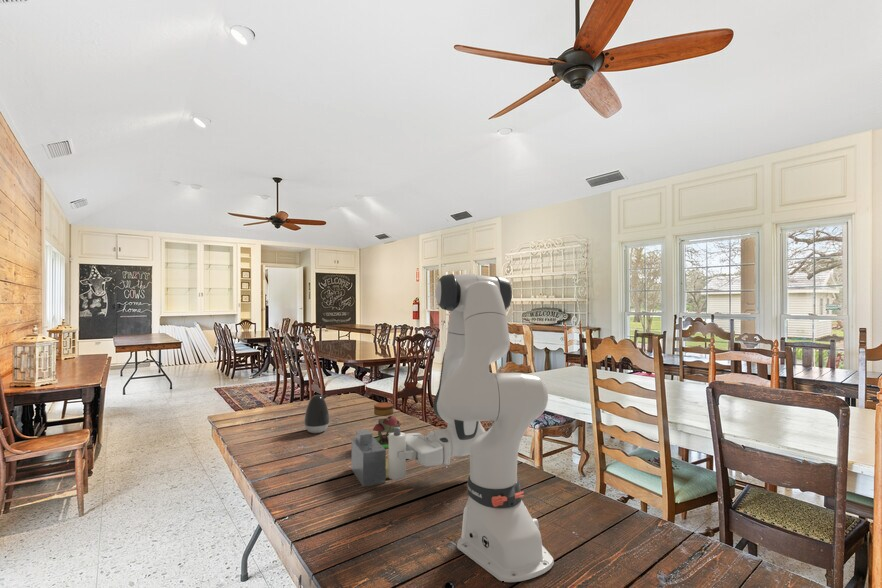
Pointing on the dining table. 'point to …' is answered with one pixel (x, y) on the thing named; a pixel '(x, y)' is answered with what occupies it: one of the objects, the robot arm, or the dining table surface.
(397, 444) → the white bottle
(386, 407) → the mushroom figurine
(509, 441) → the robot arm
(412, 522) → the dining table surface
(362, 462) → the motor
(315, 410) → the dark grey egg shape
